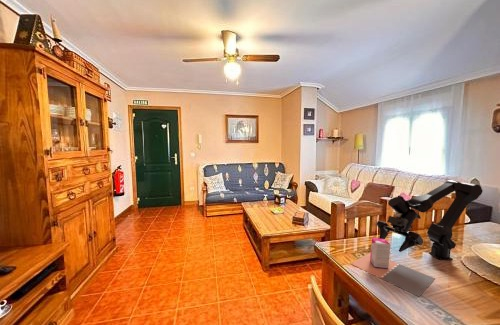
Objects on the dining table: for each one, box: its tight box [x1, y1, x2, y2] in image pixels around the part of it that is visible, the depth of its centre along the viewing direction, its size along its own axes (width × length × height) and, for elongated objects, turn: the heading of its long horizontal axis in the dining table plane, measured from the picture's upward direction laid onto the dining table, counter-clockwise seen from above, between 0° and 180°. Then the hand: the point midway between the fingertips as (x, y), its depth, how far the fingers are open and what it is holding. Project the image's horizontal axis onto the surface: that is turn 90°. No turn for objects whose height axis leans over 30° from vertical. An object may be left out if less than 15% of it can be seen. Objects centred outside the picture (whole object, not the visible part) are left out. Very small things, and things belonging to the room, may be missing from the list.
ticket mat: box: [350, 251, 436, 298], centre depth 95 cm, size 26×18×1 cm
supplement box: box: [370, 237, 391, 269], centre depth 98 cm, size 6×6×12 cm
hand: (389, 246), depth 100 cm, fingers open, 9 cm apart
